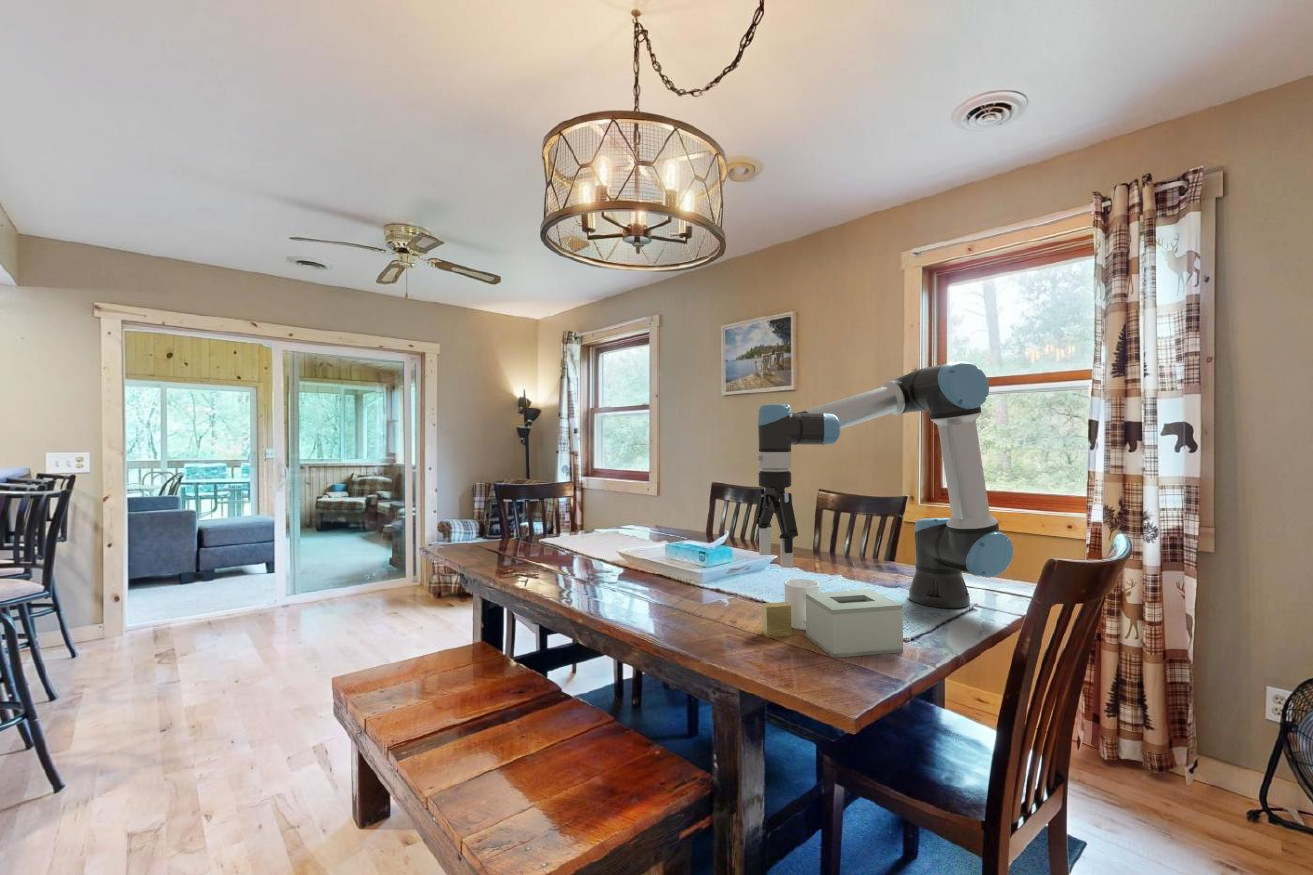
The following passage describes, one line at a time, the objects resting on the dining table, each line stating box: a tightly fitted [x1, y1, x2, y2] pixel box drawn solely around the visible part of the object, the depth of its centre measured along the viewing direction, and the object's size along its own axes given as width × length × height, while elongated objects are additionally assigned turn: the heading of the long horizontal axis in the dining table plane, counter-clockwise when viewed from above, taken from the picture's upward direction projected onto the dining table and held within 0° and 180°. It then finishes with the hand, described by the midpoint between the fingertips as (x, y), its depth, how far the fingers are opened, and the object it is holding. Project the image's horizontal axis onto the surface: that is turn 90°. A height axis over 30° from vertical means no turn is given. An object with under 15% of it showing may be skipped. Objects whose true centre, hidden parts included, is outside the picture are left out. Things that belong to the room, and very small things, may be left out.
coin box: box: [805, 588, 904, 659], centre depth 126 cm, size 16×13×10 cm
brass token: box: [761, 601, 792, 638], centre depth 133 cm, size 6×3×7 cm, turn 100°
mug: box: [784, 578, 820, 631], centre depth 137 cm, size 12×8×10 cm
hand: (775, 560), depth 133 cm, fingers open, 13 cm apart
